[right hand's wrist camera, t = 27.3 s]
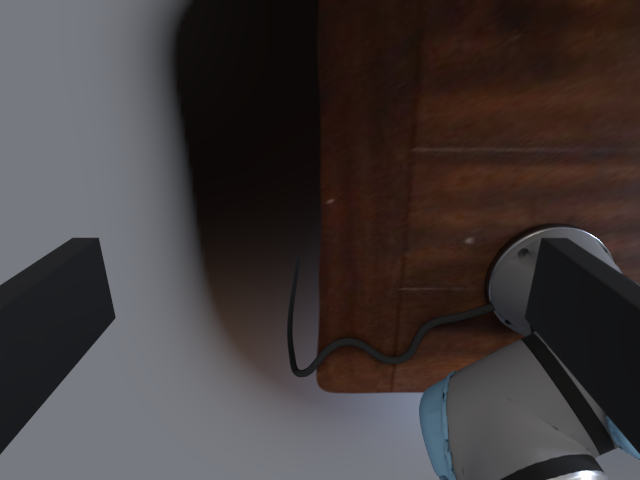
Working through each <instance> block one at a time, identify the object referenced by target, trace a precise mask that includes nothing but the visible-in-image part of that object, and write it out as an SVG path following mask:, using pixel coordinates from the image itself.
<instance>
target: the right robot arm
mask: <svg viewBox="0 0 640 480" xmlns="http://www.w3.org/2000/svg"><path fill="white" fill-rule="evenodd" d="M299 265H300V256H299V255H297V256H296V264H295V271H294V277H293V284H292V289H291V296H290V302H289V310H288V321H287V343H288V352H289V359H290V367H291V370H292V372H293V373H294V374H295V375H296V376H298V377H306V376H308V375H310V374H311V373H312V372H314V370H315V369H316V368H317V367H318V366H319V365H320V363H321V362H322V361H323V360H324V358H325V357H326V356H327V355H328V354H329V353H330V352H331V351H332V350H334V349H335V348H337V347H339V346H343V345H354V346H357V347H359V348H361V349H363V350H365V351H366V352H368V353H369V354H370V355H372V356H373V357H375V358H376V359H378V360H380V361H382V362H385V363H388V364H397V363H402V362H404V361H406V360H408V359H409V358H410V357H411V356H412V355H413V354H414V352H415V351H416V349H417V347H418V345H419V343H420V341H421V339H422V337H423V336H424V334H425V333H426V332H427V331H428V330H430V329H431V328H433V327H435V326H437V325H440V324H444V323H449V322H455V321H460V320H464V319H467V318H471V317H475V316H478V315H481V314H485V313H488V312H492V311H494V313H495V314H496V315H497V317H498V318H499V319H500V320H501V321H502V322H503V323H504V324H505V325H506V326H508V327H509V328H511V329H512V330H514V331H516V332H518V333H519V334H521V335H523V336H525V337H524V338H522V339H519V340H517V341H515V342H514V343H512V344H510V345H508V346H506V347H504V348H502V349H500V350H498V351H496V352H494V353H492V354H490V355H488V356H486V357H484V358H482V359H480V360H478V361H476V362H474V363H472V364H470V365H468V366H466V367H464V368H462V369H460V370H458V371H453V372H451V373H450V374H448V376H447V377H446V378H445V379H443V380H441V381H440V382H438V383H436V384H434V385H433V386H431V387H429V388H428V389H427V390H426V391H425V392H424V393H423V396H422V398H421V402H420V406H419V416H420V424H421V430H422V434H423V438H424V442H425V446H426V449H427V452H428V455H429V458H430V461H431V464H432V466H433V469H434V471H435V473H436V475H438V476H439V478H440V480H608V477H607V476H606V474H605V473H604V471H603V470H602V469H601V467H600V466H599V464H598V463H597V461H596V460H595V458H596V457H597V456H600V455H602V454H604V453H607V452H609V451H611V450H613V449H616V448H618V447H619V448H620V449H622V450H624V451H625V452H626V453H628V454H630V455H632V456H633V457H635V458H637V459H639V460H640V285H639V284H637V283H636V282H634V281H633V280H631V279H629V278H628V277H626V276H625V275H623V274H622V272H621V271H620V269H619V268H618V267H617V266H616V265H615V264H614V261H613V258H612V256H611V254H610V253H609V251H608V250H607V248H606V247H605V246H604V245H603V244H602V242H601V241H600V240H598V239H597V238H596V237H594V236H593V235H591V234H590V233H588V232H586V231H584V230H582V229H580V228H578V227H575V226H572V225H567V224H546V225H541V226H537V227H534V228H531V229H529V230H526V231H524V232H522V233H520V234H519V235H517V236H515V237H514V238H513V239H511V240H510V241H509V242H508V243H506V244H505V245H504V246H503V247H502V248H501V249H500V251H499V252H498V253H497V254H496V256H495V257H494V259H493V261H492V262H491V264H490V267H489V269H488V272H487V276H486V282H485V291H486V297H487V300H488V303H489V304H488V305H485V306H481V307H478V308H475V309H471V310H468V311H464V312H461V313H457V314H452V315H446V316H441V317H437V318H434V319H432V320H430V321H428V322H426V323H425V324H424V325H423V326H422V327H421V328H420V329H419V330H418V332H417V333H416V335H415V337H414V339H413V341H412V343H411V345H410V347H409V349H408V350H407V351H406V352H405V353H404V354H402V355H400V356H395V357H389V356H385V355H383V354H381V353H380V352H378V351H377V350H375V349H374V348H372V347H371V346H369V345H368V344H366V343H365V342H363V341H361V340H358V339H355V338H341V339H338V340H335V341H333V342H332V343H330V344H329V345H327V346H326V347H325V348H324V349H323V350H322V351H321V352H320V354H319V355H318V356H317V357H316V359H315V360H314V361H313V362H312V364H311V365H310V366H309V367H308V368H306V369H304V370H299V369H298V367H297V364H296V357H295V351H294V345H293V312H294V302H295V295H296V288H297V281H298V274H299ZM114 319H115V313H114V308H113V304H112V299H111V294H110V289H109V284H108V280H107V275H106V270H105V266H104V261H103V256H102V251H101V247H100V242H99V238H72V239H70V240H69V241H67V242H66V243H64V244H63V245H61V246H60V247H58V248H57V249H55V250H53V251H52V252H50V253H49V254H47V255H46V256H44V257H43V258H41V259H40V260H38V261H37V262H35V263H34V264H32V265H31V266H29V267H28V268H26V269H25V270H23V271H21V272H20V273H18V274H17V275H15V276H14V277H12V278H11V279H9V280H8V281H6V282H5V283H3V284H2V285H0V454H1V453H2V452H3V450H4V449H5V448H6V447H7V446H8V445H9V443H10V442H11V441H12V440H13V439H14V437H15V436H16V435H17V434H18V433H19V431H20V430H21V429H22V428H23V427H24V426H25V424H26V423H27V422H28V421H29V420H30V419H31V417H32V416H33V415H34V414H35V413H36V411H37V410H38V409H39V408H40V407H41V405H42V404H43V403H44V402H45V401H46V400H47V398H48V397H49V396H50V395H51V394H52V392H53V391H54V390H55V389H56V388H57V387H58V385H59V384H60V383H61V382H62V381H63V379H64V378H65V377H66V376H67V375H68V374H69V372H70V371H71V370H72V369H73V368H74V366H75V365H76V364H77V363H78V362H79V361H80V359H81V358H82V357H83V356H84V355H85V353H86V352H87V351H88V350H89V349H90V348H91V346H92V345H93V344H94V343H95V342H96V340H97V339H98V338H99V337H100V336H101V335H102V333H103V332H104V331H105V330H106V329H107V327H108V326H109V325H110V324H111V323H112V321H113V320H114Z"/></svg>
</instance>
